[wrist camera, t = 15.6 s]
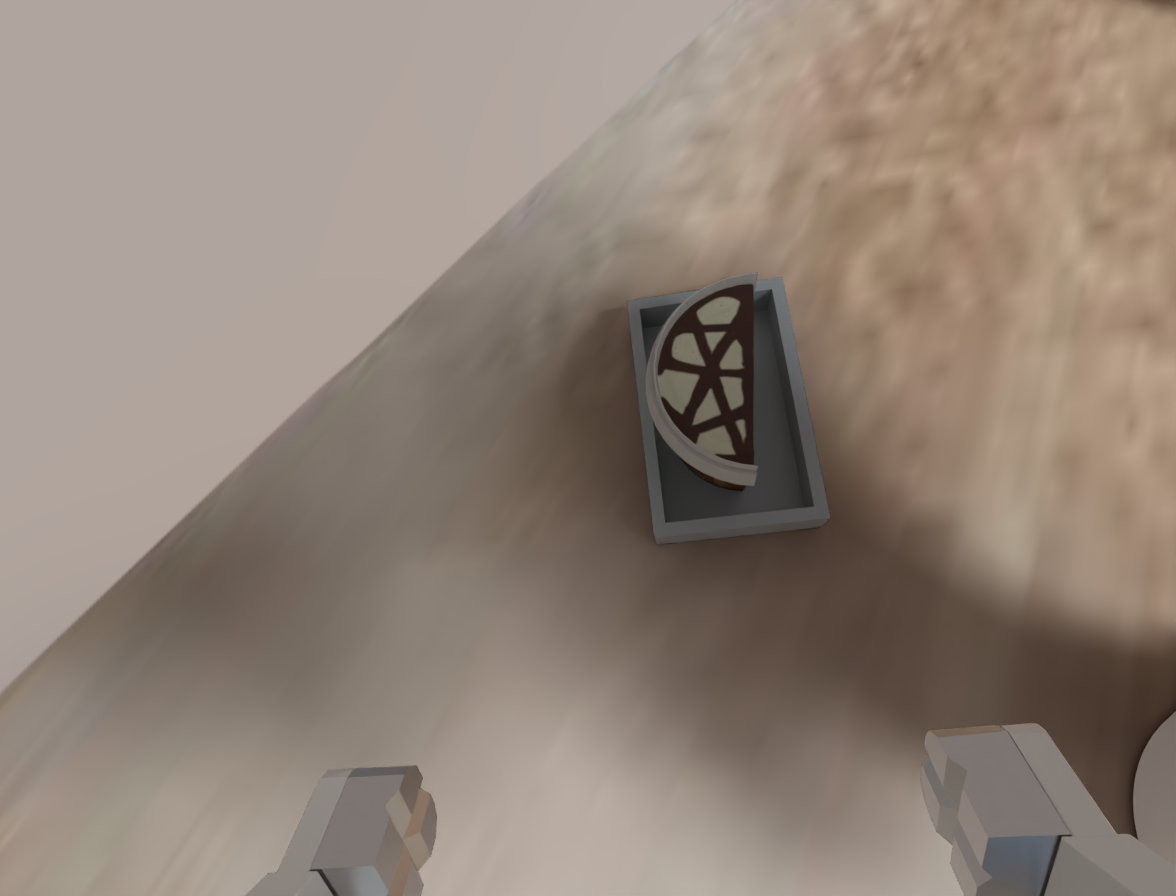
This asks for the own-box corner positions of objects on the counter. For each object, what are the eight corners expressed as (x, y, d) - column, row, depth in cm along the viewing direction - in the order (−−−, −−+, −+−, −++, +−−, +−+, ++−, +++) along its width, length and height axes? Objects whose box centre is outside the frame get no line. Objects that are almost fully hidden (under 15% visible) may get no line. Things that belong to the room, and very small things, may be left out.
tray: (775, 302, 46) (782, 276, 43) (819, 527, 41) (830, 518, 38) (631, 324, 47) (626, 300, 44) (656, 544, 42) (654, 537, 39)
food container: (657, 342, 46) (647, 266, 36) (743, 342, 45) (757, 263, 35) (649, 509, 43) (637, 473, 33) (742, 513, 41) (758, 477, 32)
